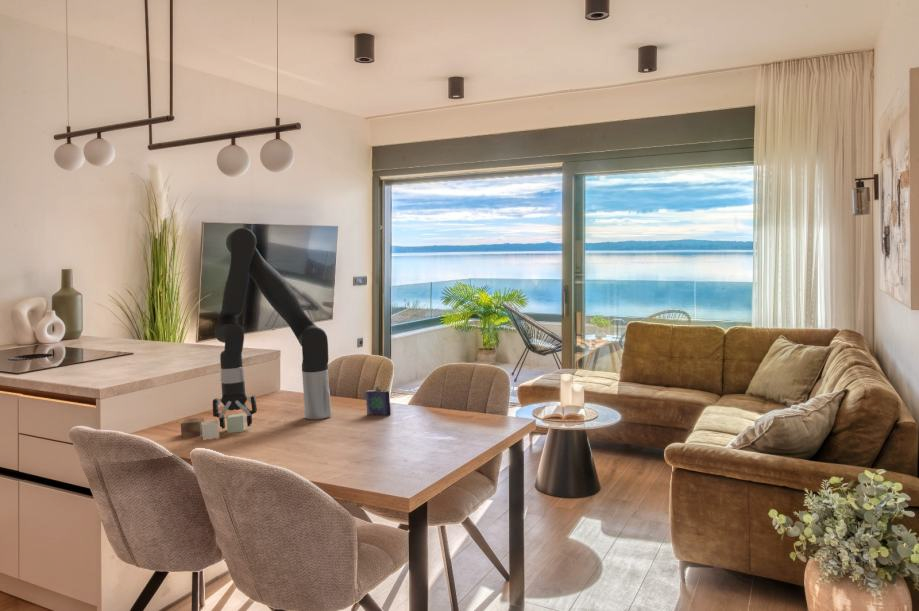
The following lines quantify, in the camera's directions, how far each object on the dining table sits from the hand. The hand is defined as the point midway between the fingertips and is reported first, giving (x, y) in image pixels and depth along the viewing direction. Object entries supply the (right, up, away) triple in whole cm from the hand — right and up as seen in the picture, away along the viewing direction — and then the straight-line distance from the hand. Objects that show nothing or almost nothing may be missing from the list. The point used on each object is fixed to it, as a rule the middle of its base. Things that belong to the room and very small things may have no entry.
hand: (236, 427), depth 227 cm
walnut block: (-14, -2, -3) cm, 14 cm away
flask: (+48, +2, +12) cm, 49 cm away
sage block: (0, -1, 0) cm, 1 cm away
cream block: (-6, -2, -8) cm, 10 cm away
